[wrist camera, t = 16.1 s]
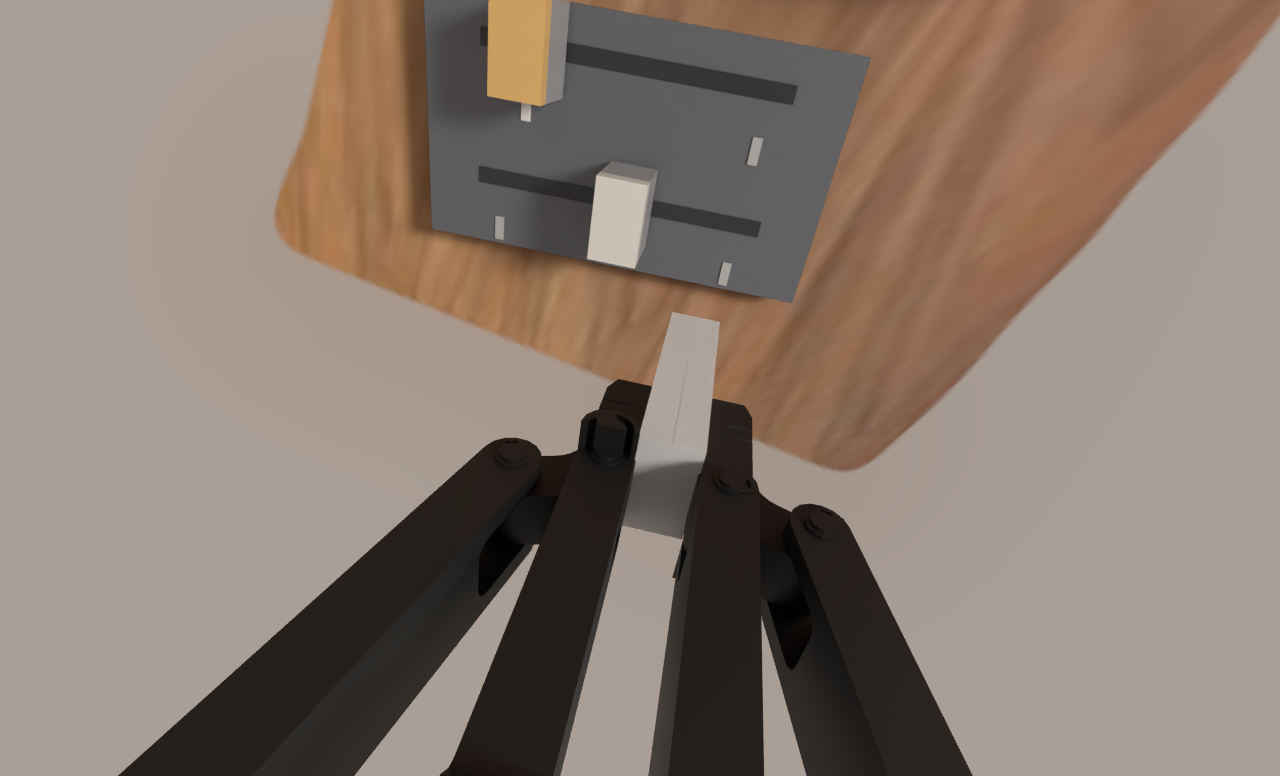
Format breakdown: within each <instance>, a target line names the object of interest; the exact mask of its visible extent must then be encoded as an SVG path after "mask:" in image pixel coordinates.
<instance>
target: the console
mask: <svg viewBox="0 0 1280 776" xmlns="http://www.w3.org/2000/svg"><path fill="white" fill-rule="evenodd" d="M488 2H489V0H424V15H425V43H426V72H427V100H428V129H429V158H430V186H431V215H432V229H436V230H440V231H445V232H450V233H455V234H460V235H465V236H469V237H474V238H479V239H484V240H489V241H494V242H498V243H503V244H508V245H513V246H518V247H523V248H528V249H532V250H537V251H542V252H547V253H552V254H557V255H561V256H566V257H571V258H576V259H581V260H586V261H590V262H595V263H600V264H605V265H610V266H615V267H619V268H624V269H629V270H634V271H639V272H644V273H648V274H653V275H658V276H663V277H668V278H673V279H678V280H682V281H687V282H692V283H697V284H702V285H707V286H711V287H716V288H721V289H726V290H731V291H736V292H740V293H745V294H750V295H755V296H760V297H765V298H769V299H774V300H779V301H784V302H789V303H792V302H793V299H794V296H795V293H796V289H797V286H798V283H799V280H800V277H801V274H802V271H803V268H804V265H805V261H806V258H807V255H808V252H809V249H810V246H811V243H812V240H813V237H814V233H815V230H816V227H817V224H818V221H819V218H820V215H821V212H822V209H823V205H824V202H825V199H826V196H827V193H828V190H829V187H830V184H831V180H832V177H833V174H834V171H835V168H836V165H837V162H838V159H839V156H840V152H841V149H842V146H843V143H844V140H845V137H846V134H847V131H848V128H849V124H850V121H851V118H852V115H853V112H854V109H855V106H856V103H857V99H858V96H859V93H860V90H861V87H862V84H863V81H864V78H865V75H866V71H867V68H868V65H869V62H870V59H871V57H865V56H860V55H855V54H849V53H844V52H838V51H833V50H828V49H822V48H817V47H811V46H806V45H800V44H795V43H790V42H784V41H779V40H773V39H768V38H763V37H757V36H752V35H746V34H741V33H736V32H730V31H725V30H719V29H714V28H709V27H703V26H698V25H692V24H687V23H682V22H676V21H671V20H665V19H660V18H654V17H649V16H644V15H638V14H633V13H627V12H622V11H617V10H611V9H606V8H600V7H595V6H590V5H584V4H579V3H573V2H570V8H569V21H568V34H567V47H566V60H565V73H564V86H563V99H560V100H557V101H554V102H551V103H548V104H545V105H543V106H536V105H531V104H526V103H521V102H516V101H510V100H505V99H500V98H495V97H490V96H487V72H488ZM611 161H616V162H621V163H626V164H631V165H636V166H641V167H646V168H651V169H656V170H658V173H657V179H656V185H655V191H654V197H653V204H652V210H651V216H650V222H649V228H648V234H647V240H646V246H645V248H644V250H643V252H642V254H641V256H640V258H639V261H638V263H637V265H636V267H635V269H634V268H629V267H624V266H619V265H614V264H609V263H605V262H600V261H595V260H590V259H587V255H588V246H589V237H590V228H591V219H592V210H593V201H594V192H595V183H596V175H597V174H598V173H599V172H600V171H601V170H603V169H604V168H605V167H606V166H607V165H608V164H609V163H610V162H611Z"/></svg>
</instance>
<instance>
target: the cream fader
mask: <svg viewBox="0 0 1280 776" xmlns="http://www.w3.org/2000/svg"><path fill="white" fill-rule="evenodd" d="M657 173H658V170H656V169H651V168H646V167H641V166H636V165H631V164H626V163H621V162H616V161H611V162H610V163H609V164H608V165H607V166H606V167H605V168H604V169H603V170H601V171H600V172H599V173H598V174H597V175H596V183H595V192H594V201H593V210H592V219H591V228H590V237H589V246H588V255H587V259H590V260H595V261H600V262H605V263H609V264H614V265H619V266H624V267H629V268H634V269H635V267H636V265H637V263H638V261H639V258H640V256H641V254H642V252H643V250H644V248H645V246H646V240H647V234H648V228H649V222H650V216H651V210H652V204H653V197H654V191H655V185H656V179H657Z"/></svg>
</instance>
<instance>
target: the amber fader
mask: <svg viewBox="0 0 1280 776" xmlns="http://www.w3.org/2000/svg"><path fill="white" fill-rule="evenodd" d="M569 8H570V2H568V1H563V0H489V2H488V72H487V96H490V97H495V98H500V99H505V100H510V101H516V102H521V103H526V104H531V105H536V106H543V105H545V104H548V103H551V102H554V101H557V100H560V99H563V86H564V73H565V60H566V47H567V34H568V21H569Z"/></svg>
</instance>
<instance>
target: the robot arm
mask: <svg viewBox="0 0 1280 776" xmlns="http://www.w3.org/2000/svg"><path fill="white" fill-rule="evenodd" d="M719 325H720V322H717V321H712V320H707V319H703V318H698V317H693V316H689V315H684V314H679V313H675V312H672V315H671V319H670V323H669V326H668V330H667V334H666V337H665V341H664V345H663V349H662V352H661V356H660V360H659V363H658V367H657V371H656V375H655V378H654V382H653V386H648V385H643V384H638V383H634V382H629V381H625V380H620V379H618V380H616V381H615V382H614V383H612V384H611V385H610V386H608V387H607V389H606V392H605V394H604V397H603V400H602V402H601V404H600V407H599V410H596V411H593V412H591V413H589V414H586V416H585V417H584V418H583V419H582V421H581V428H580V436H579V444H578V450H577V451H575V452H572V453H570V454H566V455H559V456H541V452H540V451H539V449H538V448H537V446H536V445H534V444H532V443H531V442H529V441H527V440H523V439H519V438H503V439H499V440H495V441H493V442H491V443H490V444H488V445H486V446H485V447H484V448H483V449H482V450H481V451H479V452H478V453H477V454H476V455H475V456H474V457H473V458H472V459H470V460H469V461H468V462H467V463H466V464H465V465H464V466H463V467H462V468H461V469H459V470H458V471H457V472H456V473H455V474H454V475H453V476H452V477H451V478H449V479H448V480H447V481H446V482H445V483H444V484H443V485H442V486H440V487H439V488H438V489H437V490H436V491H435V492H434V493H433V494H431V495H430V496H429V497H428V498H427V499H426V500H425V501H424V502H423V503H422V504H420V505H419V506H418V507H417V508H416V509H415V510H414V511H413V512H411V513H410V514H409V515H408V516H407V517H406V518H405V519H404V520H403V521H401V522H400V523H399V524H398V525H397V526H396V527H395V528H394V529H393V530H391V531H390V532H389V533H388V534H387V535H386V536H385V537H384V538H382V539H381V540H380V541H379V542H378V543H377V544H376V545H375V546H374V547H372V548H371V549H370V550H369V551H368V552H367V553H366V554H365V555H364V556H362V557H361V558H360V559H359V560H358V561H357V562H356V563H355V564H354V565H352V566H351V567H350V568H349V569H348V570H347V571H346V572H345V573H343V574H342V575H341V576H340V577H339V578H338V579H337V580H336V581H335V582H334V583H332V584H331V585H330V586H329V587H328V588H327V589H326V590H325V591H323V592H322V593H321V594H320V595H319V596H318V597H317V598H316V599H315V600H313V601H312V602H311V603H310V604H309V605H308V606H307V607H306V608H305V609H303V610H302V611H301V612H300V613H299V614H298V615H297V616H296V617H295V618H293V619H292V620H291V621H290V622H289V623H288V624H287V625H285V626H284V627H283V628H282V629H281V630H280V631H279V632H278V633H277V634H276V635H274V636H273V637H272V638H271V639H270V640H269V641H268V642H267V643H265V644H264V645H263V646H262V647H261V648H260V649H259V650H258V651H257V652H255V654H253V655H252V656H251V657H250V658H249V659H248V660H246V661H245V662H244V663H243V664H242V665H241V666H240V667H239V668H238V669H236V670H235V671H234V672H233V673H232V674H231V675H230V676H229V677H228V678H226V680H224V681H223V682H222V683H221V684H220V685H219V686H218V687H216V688H215V689H214V690H213V691H212V692H211V693H210V694H209V695H208V696H206V697H205V698H204V699H203V700H202V701H201V702H200V703H199V704H198V705H196V706H195V707H194V708H193V709H192V710H191V711H190V712H189V713H187V715H185V716H184V717H183V718H182V719H181V720H180V721H179V722H177V724H175V725H174V726H173V727H172V728H171V729H170V730H168V731H167V732H166V733H165V734H164V735H163V736H162V737H161V738H160V739H159V740H157V741H156V742H155V743H154V744H153V745H152V746H151V747H150V748H148V749H147V750H146V751H145V752H144V753H143V754H142V755H141V756H140V757H139V758H137V759H136V760H135V761H134V762H133V763H132V764H131V765H130V766H128V767H127V768H126V769H125V770H124V771H123V772H122V773H121V774H119V775H118V776H354V775H355V774H356V773H357V771H358V770H359V769H360V768H361V766H362V765H363V764H364V762H365V761H366V760H367V759H368V757H369V756H370V755H371V754H372V752H373V751H374V750H375V749H376V747H377V746H378V745H379V743H380V742H381V741H382V740H383V738H384V737H385V736H386V735H387V733H388V732H389V731H390V729H391V728H392V727H393V726H394V724H395V723H396V721H398V719H399V718H400V717H401V715H402V714H403V713H404V712H405V710H406V709H407V708H408V706H409V705H410V704H411V703H412V701H413V700H414V699H415V698H416V696H417V695H418V694H419V692H420V691H421V690H422V689H423V687H424V686H425V685H426V684H427V682H428V681H429V680H430V678H431V677H432V676H433V675H434V673H435V672H436V671H437V670H438V668H439V667H440V666H441V664H442V663H443V662H444V661H445V659H446V658H447V657H448V656H449V654H450V653H451V652H452V650H453V649H454V648H455V647H456V645H457V644H458V643H459V642H460V640H461V639H462V638H463V636H464V635H465V634H466V633H467V631H468V630H469V629H470V628H471V626H472V625H473V624H474V622H475V621H476V620H477V619H478V617H479V616H480V615H481V614H482V612H483V611H484V610H485V608H486V607H487V606H488V605H489V603H490V602H491V601H492V599H493V598H494V597H495V596H496V594H497V593H498V592H499V591H500V589H501V588H502V587H503V585H504V584H505V583H506V582H507V580H508V579H509V578H510V577H511V575H512V574H513V573H514V571H515V570H516V569H517V567H518V566H519V565H520V564H521V563H522V561H523V560H524V559H525V557H526V556H527V555H528V554H529V552H530V551H531V549H532V547H533V545H534V544H540V545H539V547H538V550H537V552H536V555H535V557H534V560H533V562H532V565H531V567H530V570H529V572H528V575H527V577H526V580H525V582H524V585H523V587H522V590H521V592H520V595H519V597H518V600H517V602H516V605H515V607H514V610H513V612H512V615H511V617H510V620H509V622H508V625H507V627H506V629H505V632H504V634H503V637H502V640H501V642H500V644H499V647H498V650H497V652H496V655H495V657H494V659H493V662H492V664H491V667H490V669H489V672H488V675H487V677H486V679H485V682H484V684H483V687H482V689H481V692H480V694H479V697H478V699H477V702H476V704H475V707H474V709H473V712H472V714H471V717H470V719H469V722H468V724H467V727H466V729H465V732H464V734H463V737H462V739H461V742H460V744H459V747H458V749H457V752H456V754H455V756H454V759H453V761H452V762H451V764H450V766H449V768H448V769H446V770H445V771H444V772H443V773H441V774H440V776H560V774H561V770H562V766H563V762H564V758H565V754H566V750H567V746H568V742H569V738H570V734H571V730H572V726H573V722H574V718H575V714H576V710H577V706H578V702H579V698H580V694H581V690H582V686H583V682H584V678H585V674H586V670H587V666H588V662H589V658H590V654H591V650H592V646H593V642H594V638H595V634H596V630H597V626H598V622H599V618H600V614H601V610H602V606H603V602H604V598H605V594H606V590H607V586H608V582H609V578H610V574H611V570H612V566H613V562H614V558H615V554H616V550H617V546H618V542H619V537H620V532H621V527H622V525H623V526H628V527H632V528H636V529H640V530H645V531H649V532H653V533H658V534H662V535H666V536H671V537H675V538H679V539H682V537H683V534H684V537H683V543H682V546H681V550H680V553H679V556H678V560H677V564H676V567H675V571H674V574H673V578H676V579H675V586H674V594H673V601H672V608H671V615H670V623H669V630H668V637H667V645H666V652H665V660H664V667H663V674H662V681H661V688H660V695H659V703H658V711H657V717H656V725H655V732H654V739H653V747H652V754H651V761H650V768H649V776H764V748H763V747H764V746H763V694H762V693H763V691H762V637H761V636H762V631H761V616H762V620H763V623H764V627H765V630H766V634H767V637H768V641H769V644H770V648H771V652H772V655H773V658H774V662H775V666H776V669H777V673H778V676H779V680H780V683H781V687H782V690H783V694H784V697H785V701H786V705H787V708H788V712H789V715H790V719H791V722H792V725H793V729H794V732H795V736H796V740H797V743H798V747H799V750H800V754H801V758H802V761H803V765H804V768H805V772H806V775H807V776H972V774H971V771H970V769H969V767H968V765H967V764H966V761H965V759H964V757H963V755H962V753H961V751H960V749H959V748H958V745H957V743H956V741H955V739H954V737H953V735H952V733H951V731H950V729H949V727H948V725H947V723H946V721H945V719H944V717H943V715H942V713H941V711H940V709H939V707H938V705H937V703H936V701H935V699H934V697H933V695H932V693H931V691H930V689H929V687H928V685H927V683H926V681H925V679H924V677H923V675H922V673H921V671H920V669H919V667H918V665H917V663H916V661H915V659H914V657H913V655H912V653H911V651H910V649H909V647H908V645H907V643H906V641H905V639H904V636H903V635H902V632H901V630H900V628H899V626H898V624H897V622H896V620H895V618H894V616H893V614H892V612H891V610H890V608H889V606H888V604H887V602H886V600H885V598H884V596H883V594H882V592H881V590H880V588H879V586H878V584H877V582H876V580H875V578H874V576H873V574H872V572H871V570H870V568H869V566H868V564H867V562H866V560H865V558H864V556H863V554H862V552H861V550H860V548H859V546H858V544H857V542H856V540H855V538H854V536H853V534H852V532H851V530H850V528H849V526H848V525H847V523H846V522H845V521H844V519H843V518H841V517H840V516H839V515H837V514H836V513H835V512H833V511H832V510H829V509H828V508H825V507H823V506H819V505H815V504H803V505H799V506H797V507H796V508H794V509H793V511H792V512H790V511H788V510H786V509H784V508H782V507H779V506H777V505H776V504H774V503H772V502H770V501H769V500H768V499H766V498H765V497H764V496H763V495H762V494H761V493H760V492H759V488H758V485H757V482H756V481H755V480H754V479H753V469H752V468H753V466H752V465H753V463H752V417H751V415H750V414H749V412H748V410H747V409H746V407H745V406H744V405H739V404H735V403H730V402H726V401H721V400H717V399H712V395H713V385H714V375H715V365H716V355H717V345H718V335H719Z"/></svg>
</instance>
